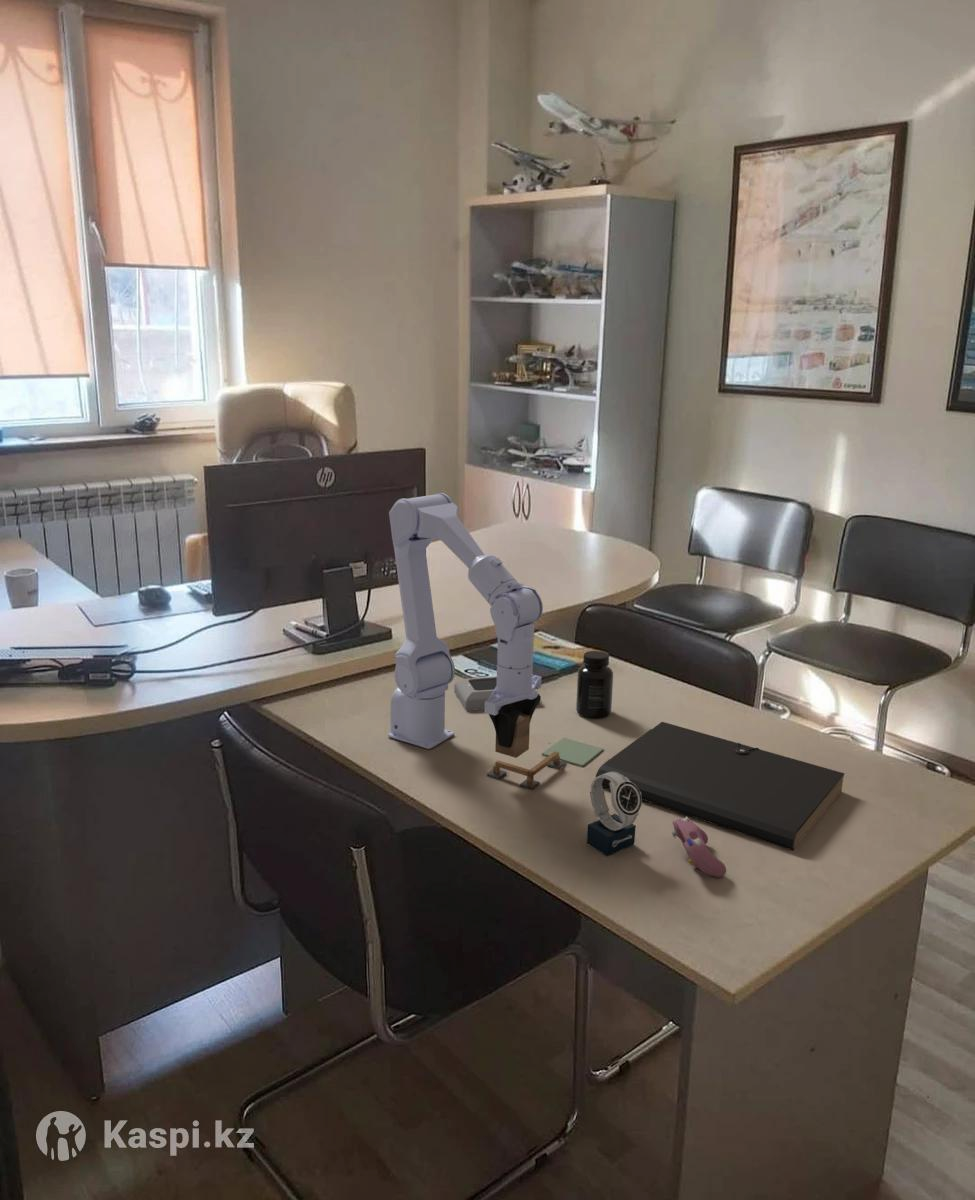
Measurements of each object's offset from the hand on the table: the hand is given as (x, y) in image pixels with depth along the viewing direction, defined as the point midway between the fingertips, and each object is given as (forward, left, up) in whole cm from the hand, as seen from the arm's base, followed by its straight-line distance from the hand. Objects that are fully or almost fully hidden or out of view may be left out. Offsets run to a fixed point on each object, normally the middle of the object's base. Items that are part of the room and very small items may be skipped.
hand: (512, 741), depth 160 cm
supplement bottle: (-1, +33, -7) cm, 34 cm away
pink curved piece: (+35, -6, -7) cm, 36 cm away
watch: (+23, -9, -7) cm, 25 cm away
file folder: (+30, +17, -8) cm, 35 cm away
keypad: (-21, +28, -8) cm, 36 cm away
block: (0, 0, -2) cm, 2 cm away
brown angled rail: (0, +4, -7) cm, 8 cm away
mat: (+4, +15, -7) cm, 17 cm away
